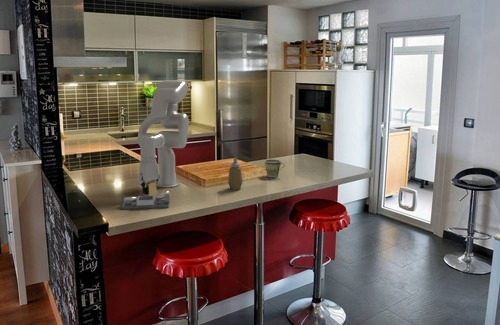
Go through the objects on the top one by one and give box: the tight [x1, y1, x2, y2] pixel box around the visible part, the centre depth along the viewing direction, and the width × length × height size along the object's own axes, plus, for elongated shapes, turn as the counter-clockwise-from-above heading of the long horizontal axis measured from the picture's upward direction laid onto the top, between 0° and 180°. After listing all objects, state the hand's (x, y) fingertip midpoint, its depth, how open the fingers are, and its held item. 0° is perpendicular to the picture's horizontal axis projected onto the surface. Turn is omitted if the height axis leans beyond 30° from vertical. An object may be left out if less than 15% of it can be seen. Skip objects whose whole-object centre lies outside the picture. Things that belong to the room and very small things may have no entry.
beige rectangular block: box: [142, 181, 158, 197], centre depth 229 cm, size 5×5×8 cm
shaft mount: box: [121, 190, 171, 211], centre depth 213 cm, size 23×9×7 cm, turn 99°
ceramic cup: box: [264, 158, 285, 179], centre depth 274 cm, size 13×10×10 cm
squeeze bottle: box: [227, 157, 243, 191], centre depth 245 cm, size 8×8×18 cm
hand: (149, 192), depth 229 cm, fingers closed on beige rectangular block, 5 cm apart
